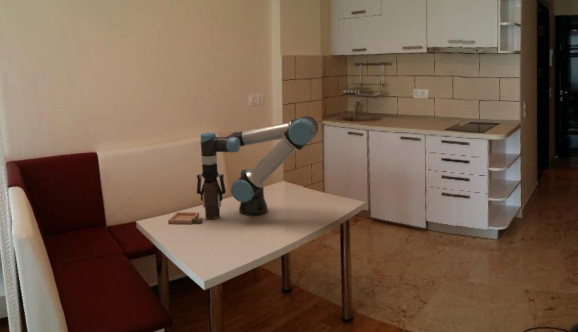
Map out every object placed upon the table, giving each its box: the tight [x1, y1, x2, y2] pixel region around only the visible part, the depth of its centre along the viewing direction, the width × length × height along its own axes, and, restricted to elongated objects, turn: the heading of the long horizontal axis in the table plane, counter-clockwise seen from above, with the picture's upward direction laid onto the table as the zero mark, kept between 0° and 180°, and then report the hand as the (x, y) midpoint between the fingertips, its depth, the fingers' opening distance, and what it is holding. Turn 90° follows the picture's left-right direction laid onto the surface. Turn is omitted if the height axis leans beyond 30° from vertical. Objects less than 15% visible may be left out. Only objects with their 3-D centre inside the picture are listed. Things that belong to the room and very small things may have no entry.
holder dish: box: [167, 211, 200, 225], centre depth 266 cm, size 12×13×2 cm
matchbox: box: [191, 217, 203, 225], centre depth 261 cm, size 5×3×2 cm, turn 82°
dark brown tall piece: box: [203, 180, 221, 219], centre depth 266 cm, size 8×7×20 cm
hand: (212, 206), depth 267 cm, fingers closed on dark brown tall piece, 7 cm apart
